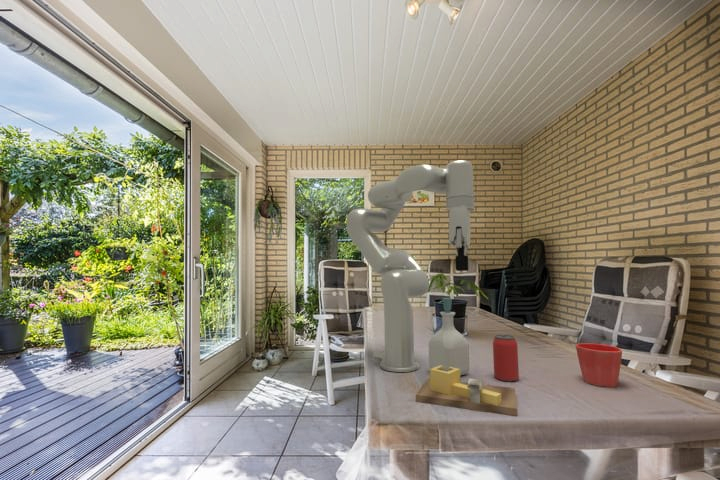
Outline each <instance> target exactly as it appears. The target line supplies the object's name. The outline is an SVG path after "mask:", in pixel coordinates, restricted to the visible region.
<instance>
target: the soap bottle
mask: <svg viewBox="0 0 720 480" xmlns="http://www.w3.org/2000/svg"><path fill="white" fill-rule="evenodd" d="M452 302H453V298H452V297H451V298H450V297H444V298H443V297H442V300H440V301H439V302H437V303H438V304H439V305H440V303H442V304H443V305H442V306H443V310H444V311H440V312H439V315H440V316H441V319H442V325H441V327H440V329H439V330H438V331H436V332H435V333H434V334H433V335H432V336H431V338H430V339H429V341H428V360H429V361H428V363H429V364H428V365H429V370H430V369H432V368H434V367H437V366H440V365H447V366H449V367H453V368H458V369H460V377H461V376H463V375H467V374H468V373H469V372H470V347H469V346H470V344H469V341H468V340H467V339H466V338H465V336H463V334H461V332H459V331H458V330H457V329H456V328H455V325H454V316H455V315H456V312H455V311H451V310H452Z"/></svg>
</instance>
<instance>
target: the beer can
mask: <svg viewBox="0 0 720 480" xmlns="http://www.w3.org/2000/svg"><path fill="white" fill-rule="evenodd" d="M493 337H494V338H493V341H492V351H493V352H492V353H493V356H492V357H493V375H494V377H495V379H497V380H499V381H502V382H507V383H509V382H511V383H512V382H516V381H518V380H519V378H520V371H519V352H518V351H519V350H518V342H517V340H516V337H515V336H514V335H510V334H495V335H493Z"/></svg>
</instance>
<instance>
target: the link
mask: <svg viewBox="0 0 720 480" xmlns="http://www.w3.org/2000/svg"><path fill="white" fill-rule="evenodd" d="M441 366H442V365H440V366H437V367H434V368H432V369H430V368H429V378H430V390H432V391H436V392H440V393H443V394H447V395H451V394H456V395H459V396H463V397H467V398H470V388H468V385H464V384H461V382H462V381H461V376H460V369H458V368H453V367H449V368H450V371H448V372H446V371H441ZM480 401H481V402H485V403H488V404H492V405H496V406H498V405H499V404H501V403H502V400H501V393H497V392H493V391H489V390H485V389H480Z"/></svg>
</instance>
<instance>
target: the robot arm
mask: <svg viewBox="0 0 720 480" xmlns="http://www.w3.org/2000/svg"><path fill="white" fill-rule="evenodd" d="M417 191H423V192H424V191H425V192H430V193H434V194H438V195H445V198H446V199H445V200H446V201H445V206H446V207H445V208H446V210H445V211H446V213H449V214H448V243H449V244H450V245H451V246H453V247H455V258H454V259H455V271H457V272H458V271H459V272H466V271H467V272H468V271H469V256H468V246H470V245H471V212H472V211H473V212H474V211H475V197H474V194H475V193H474V192H475V191H474V169H473V164H472V162H470V161H468V160H466V159H465V160H461V159H460V160H459V159H458V160H454V161H451V162H449V163H447V164H446V166H445V168H443V167H438V166H436V165H431V164H426V163H425V164H424V163H422V164H418V165H413V166H411V167H408V168H405V169H403V170H402V171H401V172H400V173H399V174H398V176H397V177H396V178H392V179H391V180H387V181H383V182H381V183H378V184H374V185H373V186H372V187H370V189H369V190H368V193H367V198H368V201H369V203H370V204H371V205H372V206H374V207H376V208H381V209H380V210H378V209H373V208H371V209H369V208H365V207H364V208H360V207H359V208H355V209H353V210H351V211H349V213H348V214H347V217H346V224H345V225H346V231H347V235H348V236H349V239H350V240H351V242H352V243H353V244H354V245H355V246H356V247H357V249H358V250H359V251H360V253H361V254H362V255H363V257H364V259H365V260H366V262H367V263H368V265H369V266H370V268H371V269H372V271H373V272H374V273H375V274H377V275H379V276H382V277H381V280H380V290H381V295H382V299H383V300H382V301H383V318H384V323H383V324H384V351H382V352H380V351H374V352H373V353H372V356H373V358H374V359H376V360H381V361H380V363H379V367H380V368H381V370H385V371H387V372H393V373H408V372H415V371H417V370H419V368H420V363H419V362H418V361H415V348H414V347H415V339H414V338H415V337H414V329H415V328H414V309H413V307H412V304H411V302H410V300H409V299H410V298H419V297H422V296H424V295H425V294H427V292H428V290H429V287H430V282H429V278H428V275H427V274H426V272H425V271H424V270H423V269H422V268H421V266H420V265H419V264H418V262H417V261H416V260H415V259H414V257H413V256H412V255H411V254H410V253H409V252H408V251H406V250H403V249H401V248H400V249H399V248H389V247H387V246H386V245H385V244H384V243H383V242H382V240H381V239H380V238H379V236H377V235H376V234H375V233H384V232H387V231H388V230H389V229H390V228H391V226H392V225H393V223H394V222H395V220H396V219H397V217H398V216H399V214H400V213H401V212H402V210H403V208H404V206H405V204H406V203H407V202H409V201H410V200H411V199H412V196H413V194H414V193H413V192H417Z"/></svg>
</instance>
